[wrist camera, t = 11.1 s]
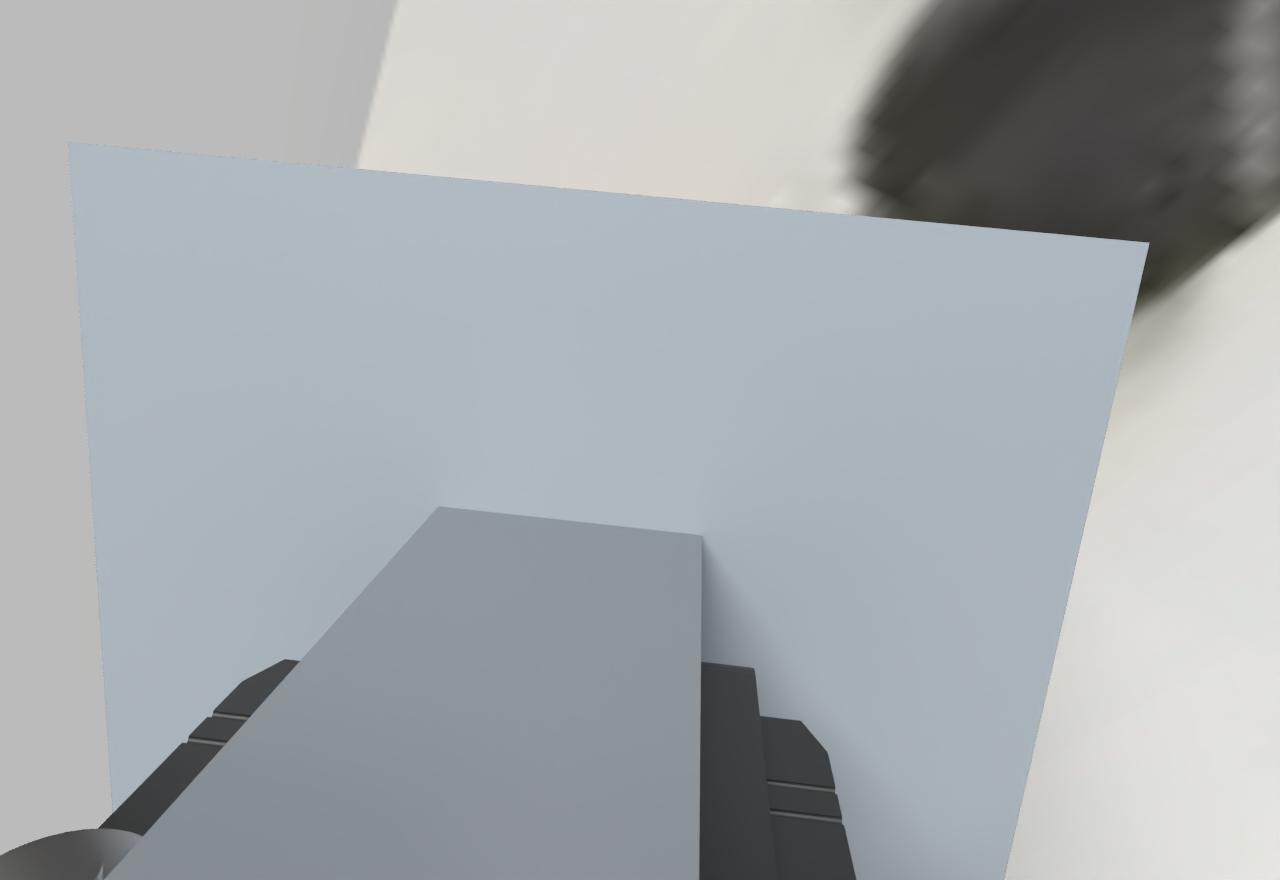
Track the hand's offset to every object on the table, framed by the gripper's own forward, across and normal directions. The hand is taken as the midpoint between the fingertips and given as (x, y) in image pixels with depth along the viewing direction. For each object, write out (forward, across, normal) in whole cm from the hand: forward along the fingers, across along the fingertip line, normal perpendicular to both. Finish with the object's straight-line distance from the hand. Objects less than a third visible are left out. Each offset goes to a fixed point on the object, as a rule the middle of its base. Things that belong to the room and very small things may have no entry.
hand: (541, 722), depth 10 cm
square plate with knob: (+10, 0, 0) cm, 10 cm away
